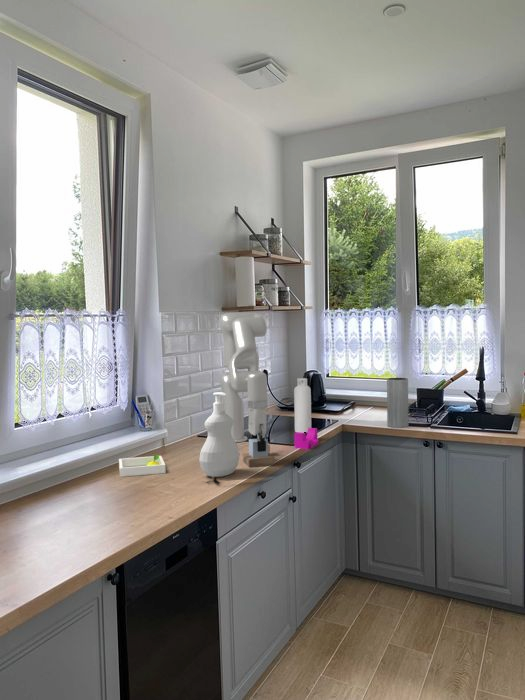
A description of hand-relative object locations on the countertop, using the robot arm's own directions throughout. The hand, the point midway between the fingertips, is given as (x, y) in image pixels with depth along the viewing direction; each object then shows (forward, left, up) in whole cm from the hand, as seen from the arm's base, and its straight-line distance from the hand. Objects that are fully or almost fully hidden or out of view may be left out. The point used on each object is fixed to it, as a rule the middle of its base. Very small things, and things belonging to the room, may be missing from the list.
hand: (258, 448), depth 215 cm
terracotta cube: (-12, +5, -6) cm, 14 cm away
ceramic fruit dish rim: (-5, -44, -6) cm, 45 cm away
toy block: (-21, +29, -6) cm, 36 cm away
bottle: (-46, +35, -6) cm, 58 cm away
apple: (-9, -40, -10) cm, 42 cm away
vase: (-35, +80, -6) cm, 88 cm away
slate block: (0, 0, -3) cm, 3 cm away
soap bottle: (+12, -17, -6) cm, 22 cm away
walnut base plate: (0, 0, -6) cm, 6 cm away
